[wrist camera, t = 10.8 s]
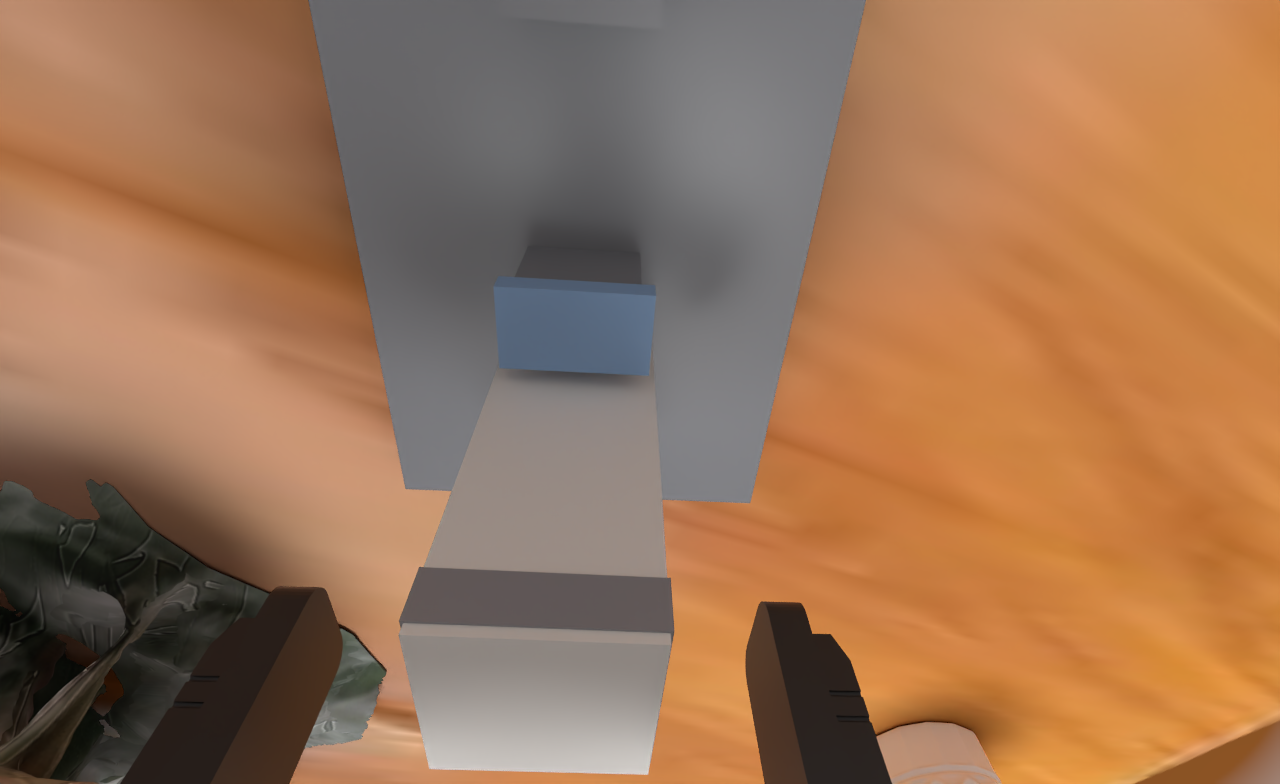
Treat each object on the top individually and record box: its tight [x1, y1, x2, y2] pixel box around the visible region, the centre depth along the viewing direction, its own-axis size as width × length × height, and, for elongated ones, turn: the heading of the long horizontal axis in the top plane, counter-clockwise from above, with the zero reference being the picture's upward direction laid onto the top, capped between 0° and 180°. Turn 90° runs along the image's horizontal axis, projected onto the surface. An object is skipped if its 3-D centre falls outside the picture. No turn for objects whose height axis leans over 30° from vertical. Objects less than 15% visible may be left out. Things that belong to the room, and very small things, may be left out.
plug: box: [399, 347, 674, 775], centre depth 14 cm, size 4×4×10 cm
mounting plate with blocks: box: [308, 0, 866, 503], centre depth 14 cm, size 23×12×4 cm, turn 176°
